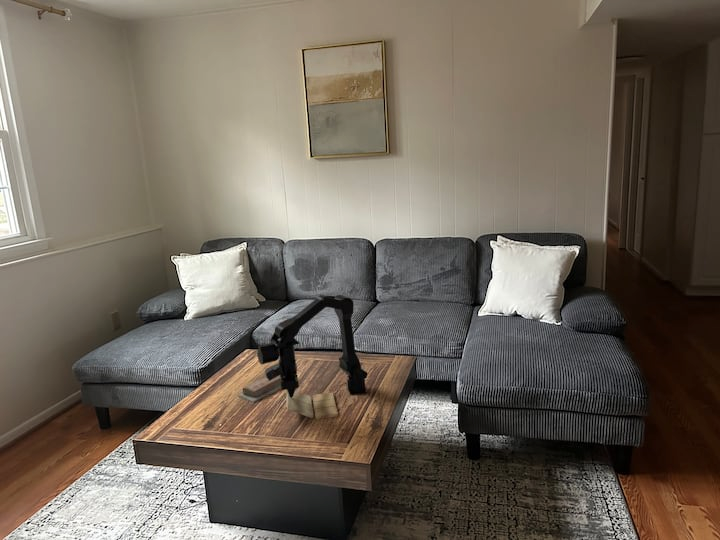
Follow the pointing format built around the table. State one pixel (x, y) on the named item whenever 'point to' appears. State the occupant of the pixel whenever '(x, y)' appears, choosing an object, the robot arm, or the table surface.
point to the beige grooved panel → (300, 403)
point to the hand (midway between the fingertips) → (291, 396)
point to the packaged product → (260, 389)
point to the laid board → (324, 406)
